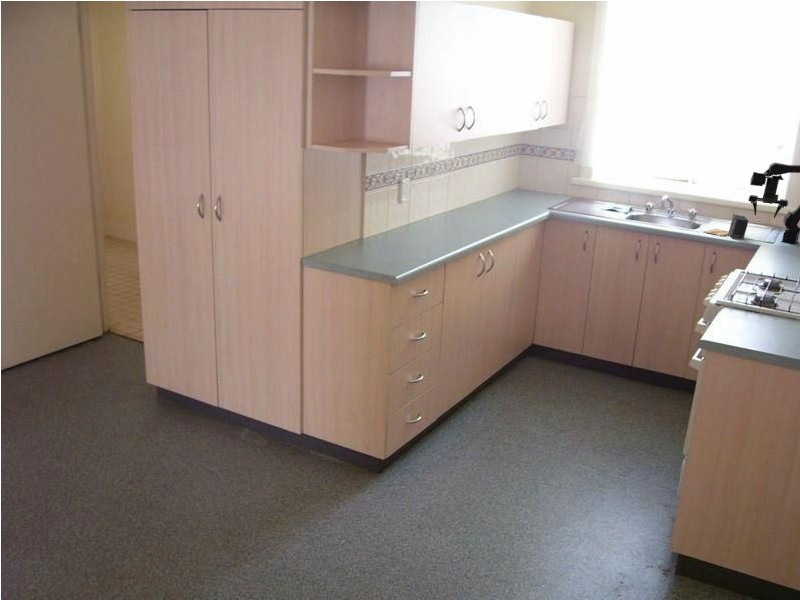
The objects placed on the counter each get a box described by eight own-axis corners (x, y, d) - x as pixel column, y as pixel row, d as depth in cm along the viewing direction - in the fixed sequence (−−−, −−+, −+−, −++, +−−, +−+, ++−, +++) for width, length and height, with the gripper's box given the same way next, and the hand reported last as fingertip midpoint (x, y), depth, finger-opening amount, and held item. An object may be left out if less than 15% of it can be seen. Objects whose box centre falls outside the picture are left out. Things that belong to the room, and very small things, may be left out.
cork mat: (734, 233, 427) (734, 232, 427) (722, 236, 419) (722, 235, 419) (715, 229, 435) (715, 228, 435) (703, 232, 427) (703, 231, 427)
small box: (744, 239, 415) (749, 220, 411) (731, 238, 416) (736, 218, 412) (740, 234, 424) (745, 215, 421) (727, 232, 425) (732, 214, 422)
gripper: (751, 186, 406) (744, 216, 410) (790, 192, 398) (783, 222, 403) (752, 184, 415) (745, 213, 420) (790, 189, 408) (784, 218, 413)
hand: (764, 216), depth 414 cm, fingers open, 9 cm apart
